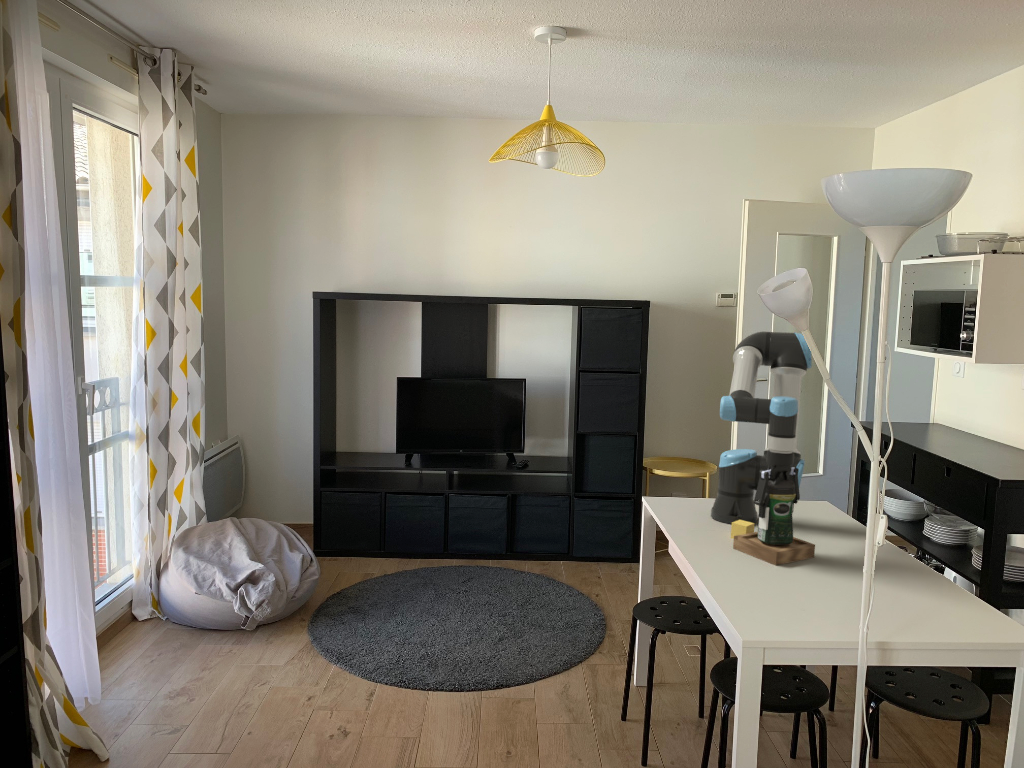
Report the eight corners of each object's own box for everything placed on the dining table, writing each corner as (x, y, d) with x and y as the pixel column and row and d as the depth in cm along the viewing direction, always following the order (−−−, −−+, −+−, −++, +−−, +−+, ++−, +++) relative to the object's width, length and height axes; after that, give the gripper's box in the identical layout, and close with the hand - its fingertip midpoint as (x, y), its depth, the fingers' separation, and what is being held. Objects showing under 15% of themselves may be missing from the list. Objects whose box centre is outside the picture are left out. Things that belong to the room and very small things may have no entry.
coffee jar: (785, 537, 235) (789, 476, 233) (796, 546, 227) (801, 483, 225) (753, 537, 234) (757, 475, 232) (763, 545, 226) (767, 482, 224)
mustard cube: (738, 535, 248) (739, 519, 247) (753, 539, 244) (754, 523, 243) (730, 538, 244) (731, 522, 243) (745, 542, 241) (746, 526, 240)
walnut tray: (770, 541, 242) (771, 529, 242) (814, 557, 228) (815, 544, 228) (733, 548, 234) (734, 535, 233) (775, 565, 220) (776, 552, 220)
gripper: (796, 445, 236) (790, 518, 239) (743, 451, 225) (738, 527, 228) (817, 450, 230) (811, 525, 233) (764, 456, 219) (758, 534, 221)
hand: (775, 526), depth 230 cm, fingers closed on coffee jar, 9 cm apart
